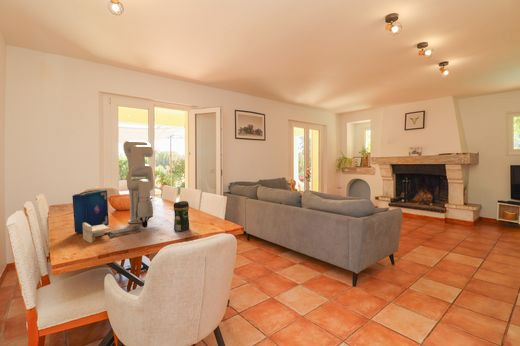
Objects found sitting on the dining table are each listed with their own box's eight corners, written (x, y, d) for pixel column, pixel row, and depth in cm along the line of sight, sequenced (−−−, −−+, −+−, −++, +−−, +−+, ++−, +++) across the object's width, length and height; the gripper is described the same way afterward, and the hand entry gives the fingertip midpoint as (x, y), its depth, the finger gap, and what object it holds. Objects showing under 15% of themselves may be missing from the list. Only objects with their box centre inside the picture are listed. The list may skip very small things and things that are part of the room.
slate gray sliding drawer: (135, 229, 167) (135, 224, 167) (140, 231, 163) (140, 226, 163) (108, 235, 155) (108, 229, 155) (113, 237, 150) (113, 231, 150)
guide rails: (133, 228, 168) (133, 227, 168) (140, 231, 161) (140, 230, 161) (103, 234, 155) (103, 232, 155) (109, 238, 148) (109, 236, 148)
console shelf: (103, 234, 155) (103, 219, 155) (110, 238, 147) (109, 223, 147) (83, 238, 147) (82, 222, 147) (89, 242, 139) (88, 226, 139)
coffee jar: (181, 227, 172) (181, 200, 171) (191, 228, 168) (190, 200, 168) (171, 231, 163) (171, 202, 162) (181, 232, 160) (181, 203, 159)
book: (81, 234, 155) (80, 193, 154) (72, 233, 156) (70, 193, 155) (109, 225, 176) (108, 189, 175) (100, 225, 177) (99, 189, 176)
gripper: (152, 197, 175) (153, 224, 176) (129, 200, 164) (130, 228, 165) (157, 198, 170) (158, 225, 171) (134, 201, 159) (135, 230, 160)
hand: (144, 227), depth 168 cm, fingers closed
